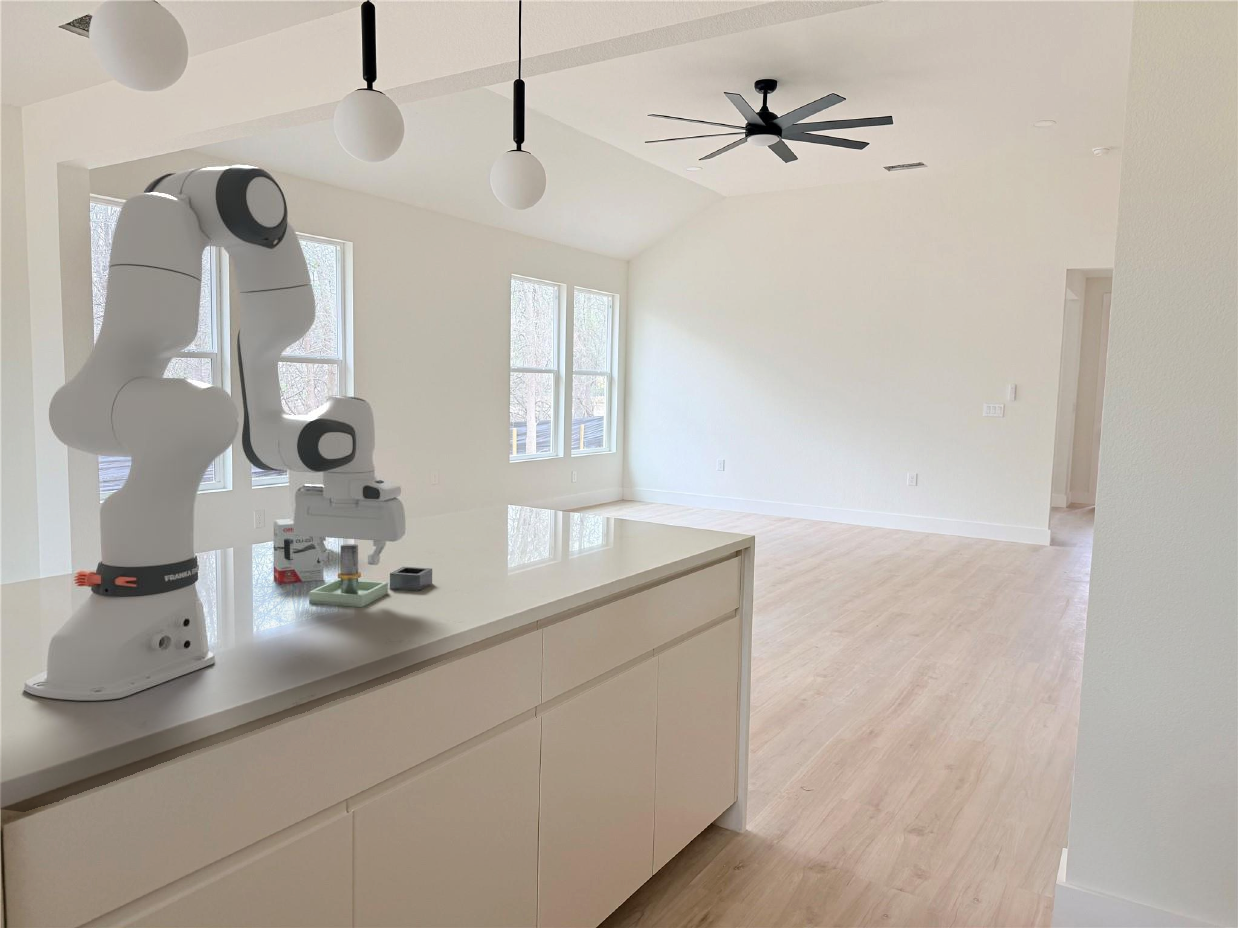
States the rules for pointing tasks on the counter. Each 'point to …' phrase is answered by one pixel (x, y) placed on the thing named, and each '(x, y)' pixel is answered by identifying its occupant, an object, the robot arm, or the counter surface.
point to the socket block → (411, 578)
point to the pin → (349, 569)
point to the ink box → (294, 555)
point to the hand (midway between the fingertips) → (349, 562)
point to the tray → (333, 594)
